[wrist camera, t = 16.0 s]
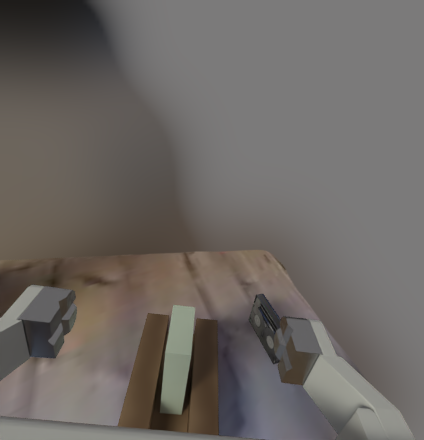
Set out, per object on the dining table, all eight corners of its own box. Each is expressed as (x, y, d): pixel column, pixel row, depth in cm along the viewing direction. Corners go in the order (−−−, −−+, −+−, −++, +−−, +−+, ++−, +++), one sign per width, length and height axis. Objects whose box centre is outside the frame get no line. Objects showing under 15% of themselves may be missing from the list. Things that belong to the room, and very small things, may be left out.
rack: (107, 471, 28) (105, 449, 25) (143, 334, 41) (144, 312, 39) (216, 478, 28) (224, 458, 26) (216, 341, 42) (220, 320, 40)
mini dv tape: (282, 362, 41) (293, 335, 38) (273, 364, 40) (284, 337, 37) (256, 318, 47) (264, 293, 44) (248, 320, 47) (256, 294, 44)
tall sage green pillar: (159, 412, 32) (165, 352, 26) (167, 363, 37) (173, 304, 31) (181, 414, 32) (191, 355, 26) (186, 365, 37) (195, 307, 32)
